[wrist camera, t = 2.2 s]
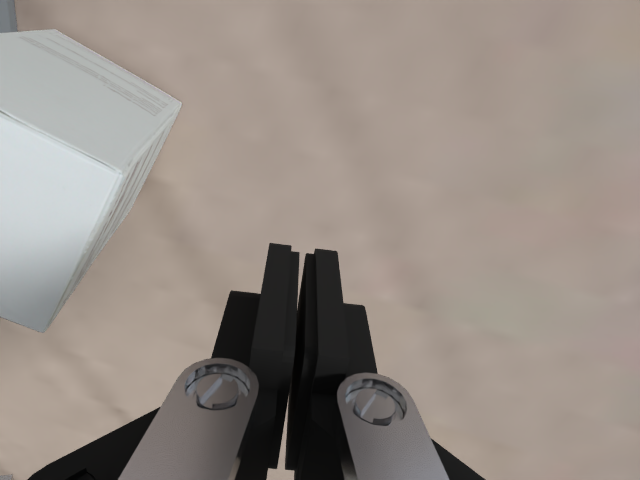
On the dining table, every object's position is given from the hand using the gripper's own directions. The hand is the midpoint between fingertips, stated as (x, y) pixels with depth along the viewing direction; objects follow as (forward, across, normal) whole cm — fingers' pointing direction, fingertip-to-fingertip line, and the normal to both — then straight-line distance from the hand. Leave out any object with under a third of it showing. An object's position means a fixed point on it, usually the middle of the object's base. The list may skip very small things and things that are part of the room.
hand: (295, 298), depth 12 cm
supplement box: (+17, +12, +1) cm, 20 cm away
